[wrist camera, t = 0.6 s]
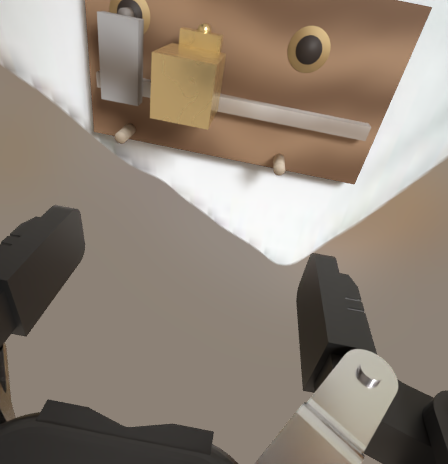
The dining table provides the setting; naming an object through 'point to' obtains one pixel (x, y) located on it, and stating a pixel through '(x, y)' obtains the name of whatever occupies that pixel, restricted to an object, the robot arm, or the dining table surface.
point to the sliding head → (188, 78)
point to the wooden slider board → (260, 76)
